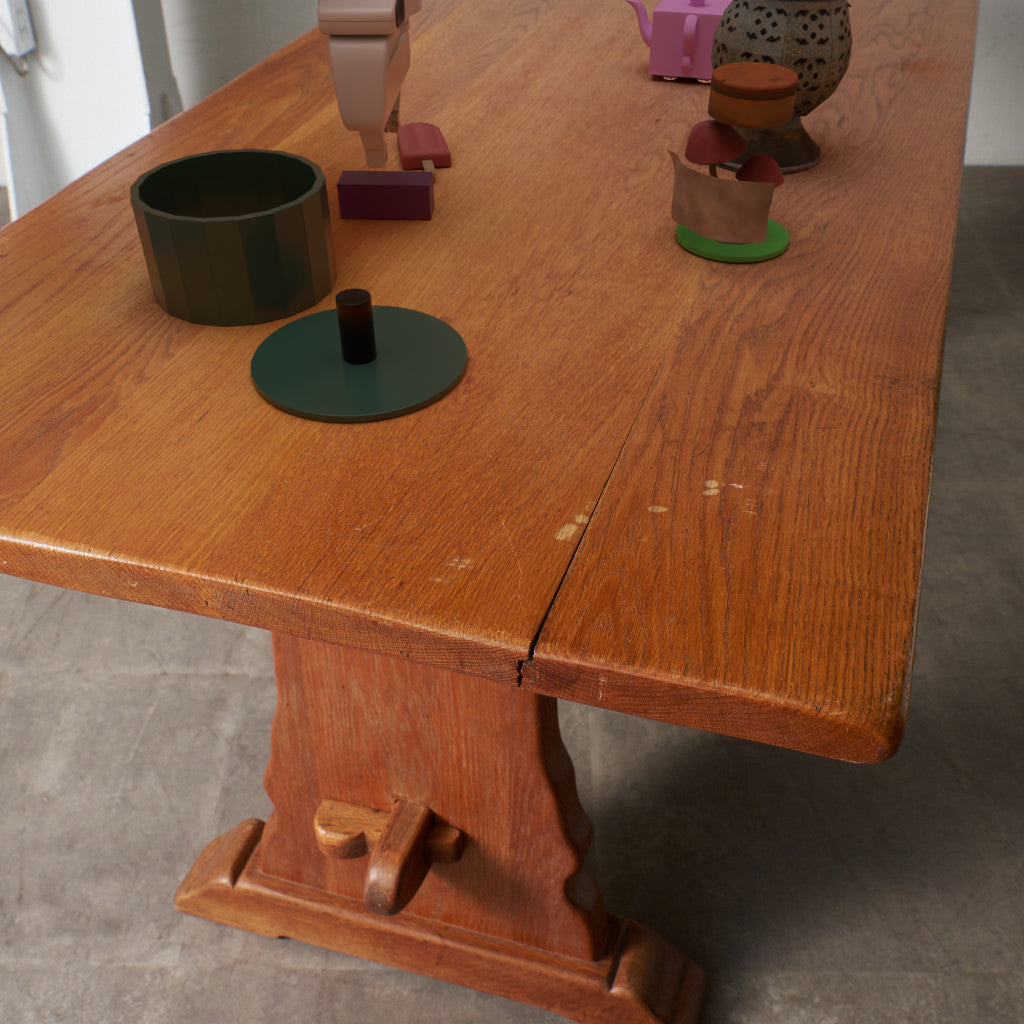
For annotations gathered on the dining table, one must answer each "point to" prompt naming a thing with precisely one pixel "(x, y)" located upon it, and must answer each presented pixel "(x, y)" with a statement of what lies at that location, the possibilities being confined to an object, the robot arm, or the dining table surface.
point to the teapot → (680, 36)
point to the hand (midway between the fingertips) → (384, 147)
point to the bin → (236, 236)
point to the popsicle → (422, 147)
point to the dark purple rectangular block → (386, 195)
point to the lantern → (787, 66)
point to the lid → (359, 362)
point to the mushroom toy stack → (744, 203)
